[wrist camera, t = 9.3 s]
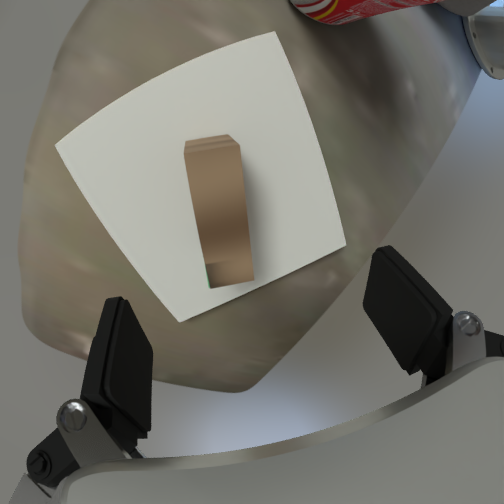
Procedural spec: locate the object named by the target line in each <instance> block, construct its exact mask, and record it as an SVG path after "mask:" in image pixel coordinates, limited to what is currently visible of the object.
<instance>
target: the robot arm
mask: <svg viewBox="0 0 504 504" xmlns="http://www.w3.org/2000/svg"><path fill="white" fill-rule="evenodd" d="M462 18H463V24H464V29H465V32H466V36H467V39H468V42H469V45H470V47H471V49H472V52H473V54H474V56H475V58H476V60H477V62H478V63H479V65H480V66H481V68H482V69H483V70H484V71H485V73H486V74H487V75H489V76H490V77H492V78H494V79H499V80H501V79H504V7H492V6H489V5H488V6H487V7H485V8H483V9H482V10H480V11H479V12H477V13H476V14H474V15H472V16H468V17H465V16H462ZM363 308H364V310H365V312H366V313H367V315H368V316H369V318H370V319H371V321H372V322H373V324H374V326H375V327H376V328H377V330H378V332H379V333H380V335H381V336H382V338H383V339H384V341H385V342H386V344H387V346H388V347H389V349H390V350H391V352H392V353H393V355H394V357H395V358H396V360H397V361H398V363H399V365H400V366H401V368H402V369H403V370H406V371H407V373H408V374H409V375H411V374H413V373H416V372H418V371H419V370H420V369H421V371H422V372H423V377H422V384H421V389H420V390H418V391H416V392H414V393H412V394H410V395H408V396H406V397H404V398H402V399H400V400H398V401H396V402H393V403H391V404H389V405H387V406H384V407H382V408H380V409H378V410H375V411H373V412H370V413H368V414H365V415H363V416H360V417H358V418H355V419H353V420H350V421H347V422H344V423H342V424H339V425H336V426H333V427H330V428H327V429H324V430H320V431H317V432H314V433H311V434H307V435H304V436H300V437H296V438H292V439H289V440H285V441H281V442H276V443H272V444H267V445H262V446H258V447H252V448H247V449H241V450H235V451H228V452H221V453H213V454H204V455H195V456H194V455H193V456H183V457H166V458H146V456H145V455H144V454H143V453H142V452H141V451H140V450H139V449H138V447H137V439H144V438H147V432H148V431H150V430H151V393H152V392H151V391H152V366H153V350H152V347H151V344H150V343H149V341H148V339H147V337H146V335H145V333H144V331H143V330H142V328H141V326H140V324H139V322H138V320H137V318H136V316H135V314H134V312H133V310H132V308H131V306H130V303H129V302H128V300H124V299H123V298H122V297H114V298H108V299H106V301H105V304H104V307H103V311H102V314H101V318H100V321H99V325H98V329H97V332H96V336H95V337H94V338H93V341H92V344H91V348H90V352H89V357H88V361H87V365H86V370H85V375H84V380H83V385H82V390H81V395H80V399H70V400H68V401H66V402H65V403H64V404H63V405H62V406H61V407H60V408H59V410H58V413H57V416H56V423H57V426H58V428H56V429H55V430H54V431H53V432H52V433H51V434H50V435H49V436H47V437H46V438H45V439H44V440H43V441H42V442H41V443H40V444H38V445H37V446H36V447H35V448H34V449H33V450H32V451H31V452H30V453H29V455H28V458H27V470H28V474H26V473H24V475H23V477H22V478H21V480H20V482H19V484H18V486H17V488H16V489H15V491H14V493H13V495H12V497H11V499H10V501H9V504H504V336H503V335H499V334H496V333H493V332H489V331H485V330H484V327H483V324H482V322H481V320H480V319H479V318H478V317H477V316H476V315H474V314H473V313H471V312H468V311H460V312H458V313H456V314H455V316H454V317H453V316H452V315H451V314H452V312H453V309H452V308H451V307H450V306H449V305H448V304H447V303H446V301H445V300H444V299H443V298H442V297H441V296H440V295H439V294H438V293H437V292H436V290H434V288H433V287H432V286H431V285H430V284H429V283H428V282H427V281H426V280H425V279H424V278H423V277H422V276H421V275H420V274H419V273H418V272H417V271H416V270H415V268H414V267H413V266H411V264H409V262H408V261H407V260H405V259H404V258H403V257H402V256H401V255H400V254H399V253H398V252H397V251H396V250H395V249H394V248H393V247H392V246H390V245H388V246H384V247H380V248H377V249H376V251H375V252H374V253H373V255H372V260H371V266H370V272H369V276H368V281H367V286H366V290H365V295H364V300H363Z"/></svg>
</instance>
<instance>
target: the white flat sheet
mask: <svg viewBox="0 0 504 504" xmlns="http://www.w3.org/2000/svg"><path fill="white" fill-rule="evenodd" d="M226 134H228V135H229V136H231V137H232V138H233V139H234V140H235V141H236V142H237V143H238V144H240V150H241V160H242V169H243V179H244V188H245V197H246V207H247V216H248V225H249V235H250V244H251V254H252V263H253V272H254V281H249V282H244V283H239V284H234V285H229V286H224V287H218V288H213V289H210V285H209V280H208V276H207V272H206V267H205V263H204V258H203V253H202V249H201V244H200V239H199V234H198V230H197V225H196V220H195V215H194V210H193V204H192V199H191V194H190V188H189V183H188V177H187V172H186V166H185V160H184V147H185V141H189V140H194V139H200V138H206V137H212V136H219V135H226ZM55 147H56V149H57V151H58V152H59V154H60V156H61V158H62V160H63V161H64V163H65V165H66V167H67V168H68V170H69V172H70V173H71V175H72V177H73V178H74V180H75V182H76V183H77V185H78V187H79V188H80V190H81V192H82V193H83V195H84V196H85V198H86V199H87V201H88V203H89V204H90V206H91V207H92V209H93V210H94V212H95V213H96V215H97V216H98V218H99V219H100V221H101V222H102V224H103V225H104V227H105V228H106V230H107V231H108V232H109V234H110V235H111V237H112V238H113V239H114V241H115V242H116V244H117V245H118V246H119V248H120V249H121V251H122V252H123V253H124V255H125V256H126V257H127V259H128V260H129V261H130V263H131V264H132V265H133V267H134V268H135V269H136V270H137V272H138V273H139V274H140V276H141V277H142V278H143V279H144V281H145V282H146V283H147V284H148V286H149V287H150V288H151V289H152V291H153V292H154V293H155V294H156V296H157V297H158V298H159V299H160V300H161V302H162V303H163V304H164V305H165V306H166V308H167V309H168V310H169V311H170V312H171V313H172V315H173V316H174V317H175V318H176V319H177V320H178V321H179V322H182V321H184V320H186V319H189V318H191V317H193V316H196V315H198V314H200V313H203V312H205V311H207V310H210V309H212V308H214V307H216V306H219V305H221V304H223V303H225V302H228V301H230V300H232V299H234V298H236V297H239V296H241V295H243V294H245V293H247V292H250V291H252V290H254V289H256V288H258V287H261V286H263V285H265V284H267V283H269V282H271V281H273V280H276V279H278V278H280V277H282V276H284V275H286V274H288V273H290V272H292V271H295V270H297V269H299V268H301V267H303V266H305V265H307V264H309V263H311V262H313V261H315V260H317V259H319V258H321V257H323V256H325V255H328V254H330V253H332V252H334V251H336V250H338V249H340V248H342V247H344V246H346V242H345V237H344V233H343V229H342V225H341V221H340V216H339V212H338V209H337V205H336V201H335V197H334V193H333V190H332V186H331V183H330V179H329V176H328V172H327V169H326V165H325V162H324V159H323V156H322V152H321V149H320V146H319V143H318V140H317V137H316V134H315V131H314V128H313V125H312V122H311V119H310V116H309V114H308V111H307V108H306V105H305V102H304V100H303V97H302V94H301V92H300V89H299V87H298V84H297V82H296V79H295V77H294V74H293V72H292V69H291V67H290V64H289V62H288V60H287V57H286V55H285V53H284V50H283V48H282V46H281V44H280V42H279V39H278V37H277V35H276V33H275V31H274V32H270V33H266V34H263V35H259V36H256V37H252V38H249V39H246V40H243V41H240V42H237V43H234V44H231V45H228V46H225V47H223V48H220V49H217V50H215V51H212V52H210V53H207V54H205V55H202V56H200V57H198V58H195V59H193V60H191V61H188V62H186V63H184V64H182V65H180V66H177V67H175V68H173V69H171V70H169V71H167V72H165V73H163V74H161V75H159V76H157V77H155V78H153V79H152V80H150V81H148V82H146V83H144V84H142V85H141V86H139V87H137V88H135V89H134V90H132V91H130V92H129V93H127V94H125V95H124V96H122V97H120V98H119V99H117V100H116V101H114V102H112V103H111V104H109V105H108V106H106V107H105V108H103V109H102V110H100V111H99V112H97V113H96V114H95V115H93V116H92V117H90V118H89V119H87V120H86V121H85V122H83V123H82V124H81V125H79V126H78V127H77V128H75V129H74V130H73V131H71V132H70V133H69V134H68V135H66V136H65V137H64V138H63V139H61V140H60V141H59V142H58V143H57V144H55Z"/></svg>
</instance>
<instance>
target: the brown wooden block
mask: <svg viewBox="0 0 504 504" xmlns="http://www.w3.org/2000/svg"><path fill="white" fill-rule="evenodd" d="M184 160H185V166H186V172H187V177H188V183H189V188H190V194H191V199H192V204H193V210H194V215H195V220H196V225H197V230H198V234H199V239H200V244H201V249H202V253H203V258H204V263H205V267H206V272H207V276H208V280H209V285H210V289H213V288H218V287H224V286H229V285H234V284H239V283H244V282H249V281H254V272H253V263H252V254H251V244H250V235H249V225H248V216H247V207H246V197H245V188H244V179H243V169H242V160H241V150H240V144H238V143H237V142H236V141H235V140H234V139H233V138H232V137H231V136H229V135H228V134H226V135H219V136H212V137H206V138H200V139H194V140H189V141H185V147H184Z"/></svg>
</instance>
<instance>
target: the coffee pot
mask: <svg viewBox="0 0 504 504" xmlns="http://www.w3.org/2000/svg"><path fill="white" fill-rule="evenodd" d="M495 1H496V0H444V1H441V2H437V3H438V4H439V5H441V6H442V7H443V8H445V9H447V10H449V11H450V12H452V13H455V14H457V15H461V16H465V17H468V16H472V15H474V14H476V13H477V12H479V11H480V10H482V9H483V8H485V7H487V6H488V5H490V4H491V3H493V2H495Z"/></svg>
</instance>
